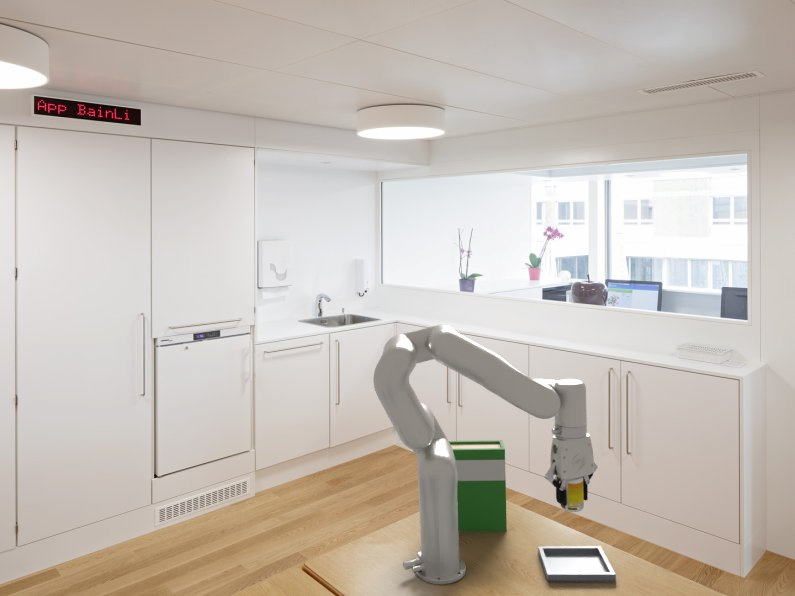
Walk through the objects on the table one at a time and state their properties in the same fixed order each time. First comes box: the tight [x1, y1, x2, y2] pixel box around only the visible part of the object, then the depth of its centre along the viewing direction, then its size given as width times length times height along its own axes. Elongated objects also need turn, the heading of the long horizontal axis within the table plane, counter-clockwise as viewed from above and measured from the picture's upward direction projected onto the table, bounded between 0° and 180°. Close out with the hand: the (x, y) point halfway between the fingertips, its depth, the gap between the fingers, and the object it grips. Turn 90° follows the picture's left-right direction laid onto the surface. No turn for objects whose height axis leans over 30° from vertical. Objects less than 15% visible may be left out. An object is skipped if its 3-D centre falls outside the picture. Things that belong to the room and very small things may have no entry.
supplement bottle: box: [559, 477, 585, 513], centre depth 146 cm, size 6×6×10 cm
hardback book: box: [448, 439, 508, 533], centre depth 170 cm, size 18×7×24 cm, turn 86°
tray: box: [537, 545, 617, 583], centre depth 148 cm, size 16×13×2 cm
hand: (572, 500), depth 147 cm, fingers closed on supplement bottle, 5 cm apart
